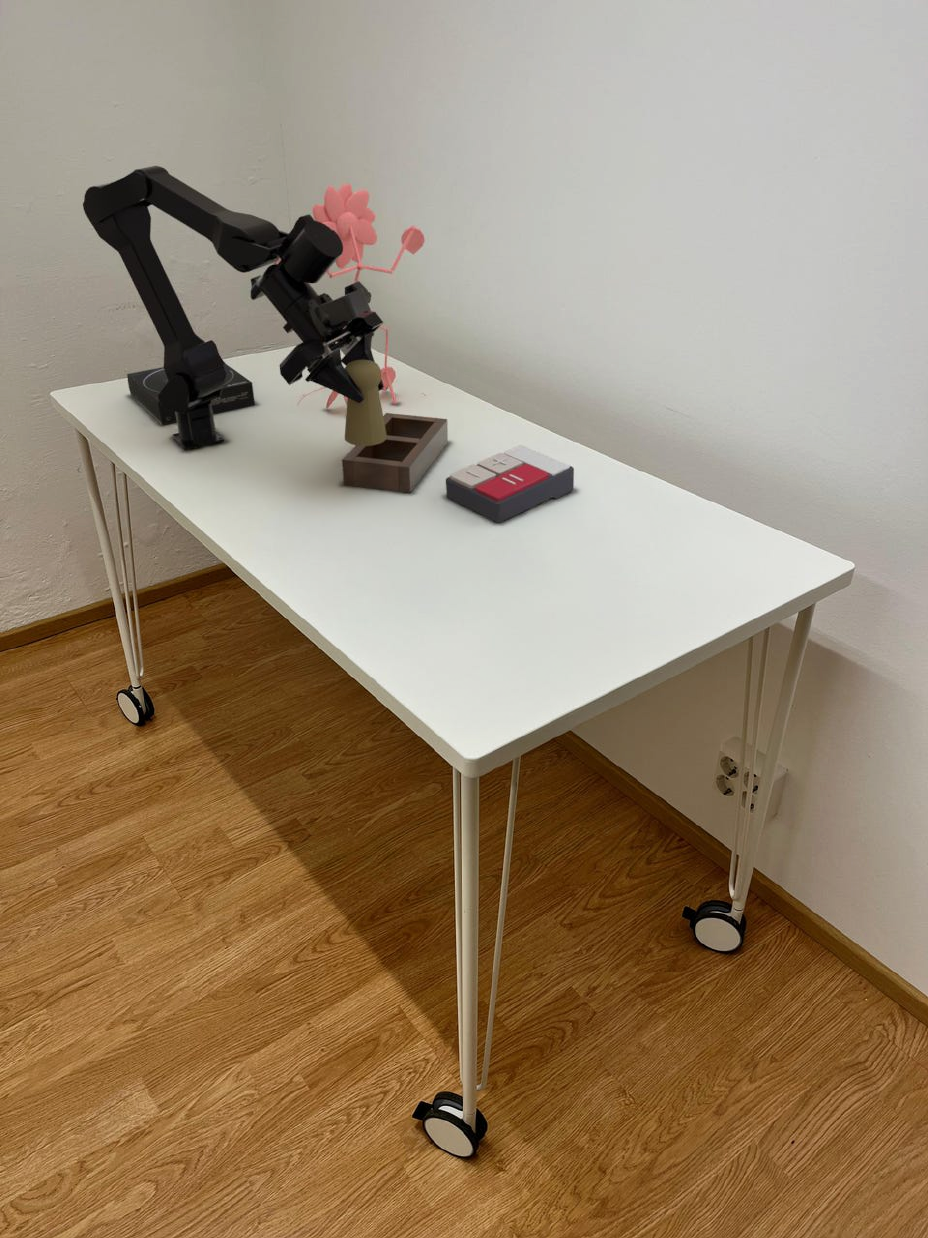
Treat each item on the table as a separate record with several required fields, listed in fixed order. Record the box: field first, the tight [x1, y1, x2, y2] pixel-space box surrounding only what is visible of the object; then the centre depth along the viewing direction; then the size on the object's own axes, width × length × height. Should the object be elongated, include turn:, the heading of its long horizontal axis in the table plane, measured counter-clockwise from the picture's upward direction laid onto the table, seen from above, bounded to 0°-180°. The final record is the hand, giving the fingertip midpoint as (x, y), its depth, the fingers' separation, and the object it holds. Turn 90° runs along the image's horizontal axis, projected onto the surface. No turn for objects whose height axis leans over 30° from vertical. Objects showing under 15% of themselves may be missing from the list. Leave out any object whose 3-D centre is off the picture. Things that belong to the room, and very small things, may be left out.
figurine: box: [273, 182, 427, 409], centre depth 162 cm, size 15×26×35 cm, turn 128°
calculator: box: [445, 444, 575, 523], centre depth 139 cm, size 11×4×15 cm
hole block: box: [341, 412, 449, 494], centre depth 148 cm, size 10×19×4 cm, turn 164°
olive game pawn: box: [344, 360, 387, 446], centre depth 137 cm, size 6×6×11 cm
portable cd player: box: [126, 363, 256, 426], centre depth 171 cm, size 16×17×4 cm
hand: (371, 394), depth 136 cm, fingers closed on olive game pawn, 5 cm apart
